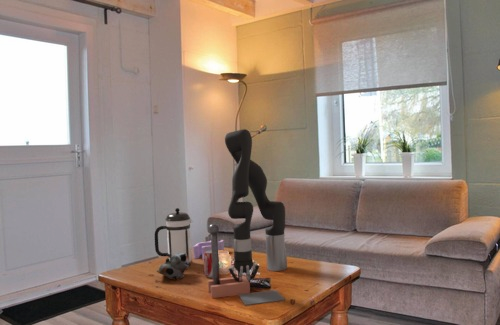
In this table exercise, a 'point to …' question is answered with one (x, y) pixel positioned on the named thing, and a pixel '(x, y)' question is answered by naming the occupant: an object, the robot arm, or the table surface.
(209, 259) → the soda can
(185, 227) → the coffee press
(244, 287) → the c link
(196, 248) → the clip
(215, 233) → the stand
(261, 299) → the felt mat
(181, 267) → the dark grey lumpy piece
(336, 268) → the table surface
